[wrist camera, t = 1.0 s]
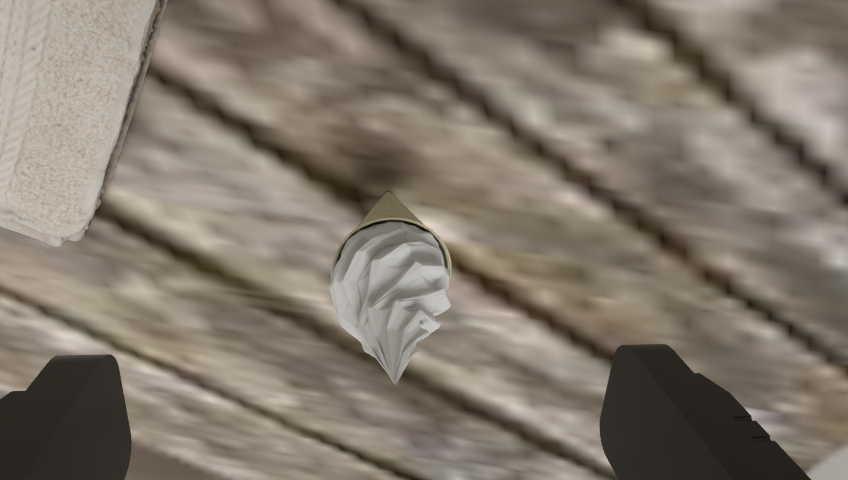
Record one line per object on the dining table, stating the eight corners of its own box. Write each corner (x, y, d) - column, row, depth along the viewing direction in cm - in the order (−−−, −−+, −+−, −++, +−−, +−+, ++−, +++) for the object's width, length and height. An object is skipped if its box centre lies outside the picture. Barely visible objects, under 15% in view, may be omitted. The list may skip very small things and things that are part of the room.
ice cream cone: (322, 201, 32) (286, 393, 18) (382, 132, 30) (388, 288, 17) (393, 253, 33) (406, 461, 20) (453, 190, 32) (509, 371, 19)
